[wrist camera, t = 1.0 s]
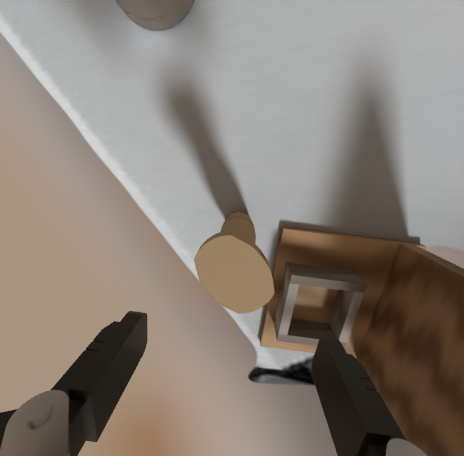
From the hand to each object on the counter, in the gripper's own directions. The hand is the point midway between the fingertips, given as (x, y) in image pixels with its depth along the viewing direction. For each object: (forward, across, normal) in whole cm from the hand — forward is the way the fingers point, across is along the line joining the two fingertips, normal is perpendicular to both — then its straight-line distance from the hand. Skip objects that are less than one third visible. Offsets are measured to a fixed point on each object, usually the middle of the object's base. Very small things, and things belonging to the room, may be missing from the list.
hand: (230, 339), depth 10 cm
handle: (+21, 0, 0) cm, 21 cm away
